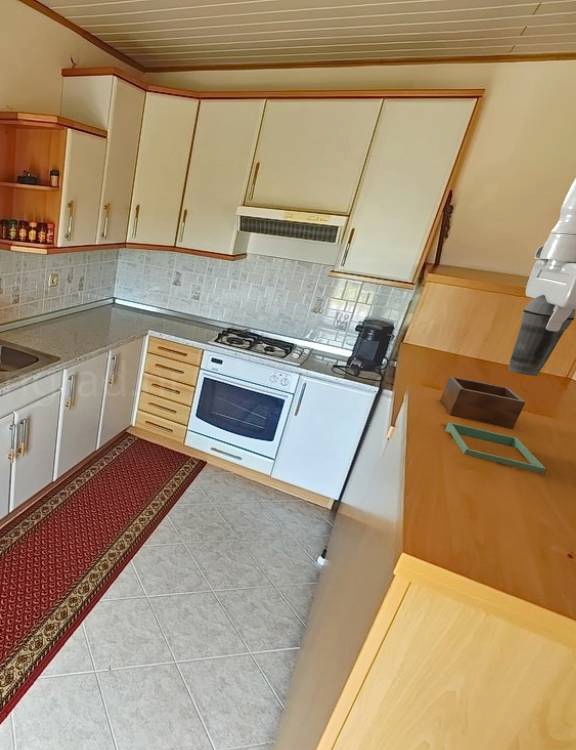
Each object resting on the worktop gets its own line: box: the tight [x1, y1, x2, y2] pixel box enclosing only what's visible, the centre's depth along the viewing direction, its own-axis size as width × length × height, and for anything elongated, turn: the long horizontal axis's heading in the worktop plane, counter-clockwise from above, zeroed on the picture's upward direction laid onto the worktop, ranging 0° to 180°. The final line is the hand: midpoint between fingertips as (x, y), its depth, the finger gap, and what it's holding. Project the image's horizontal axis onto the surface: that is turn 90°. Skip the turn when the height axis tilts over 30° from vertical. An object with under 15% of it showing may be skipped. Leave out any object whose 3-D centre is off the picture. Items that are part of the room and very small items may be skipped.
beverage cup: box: [507, 295, 576, 377], centre depth 93 cm, size 7×7×20 cm
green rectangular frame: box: [444, 421, 547, 475], centre depth 100 cm, size 12×16×2 cm
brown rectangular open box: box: [439, 375, 526, 430], centre depth 123 cm, size 13×13×7 cm
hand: (542, 326), depth 93 cm, fingers closed on beverage cup, 6 cm apart
